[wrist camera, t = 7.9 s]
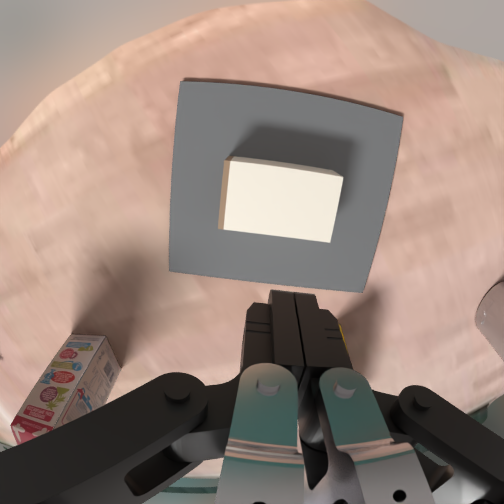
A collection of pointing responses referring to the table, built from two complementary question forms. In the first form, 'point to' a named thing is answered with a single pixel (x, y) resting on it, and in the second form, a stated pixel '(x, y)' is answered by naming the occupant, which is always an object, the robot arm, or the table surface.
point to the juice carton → (68, 387)
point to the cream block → (279, 199)
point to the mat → (282, 150)
